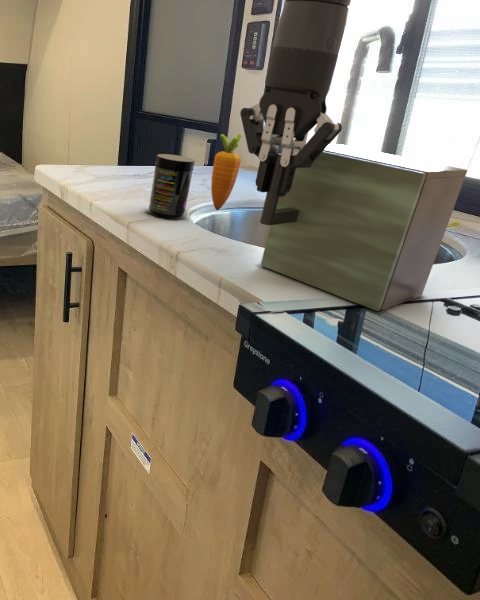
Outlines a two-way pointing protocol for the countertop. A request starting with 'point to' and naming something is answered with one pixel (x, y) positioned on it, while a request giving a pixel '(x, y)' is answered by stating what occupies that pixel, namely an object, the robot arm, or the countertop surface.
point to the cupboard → (416, 220)
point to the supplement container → (170, 186)
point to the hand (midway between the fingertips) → (270, 193)
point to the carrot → (225, 171)
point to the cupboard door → (341, 225)
